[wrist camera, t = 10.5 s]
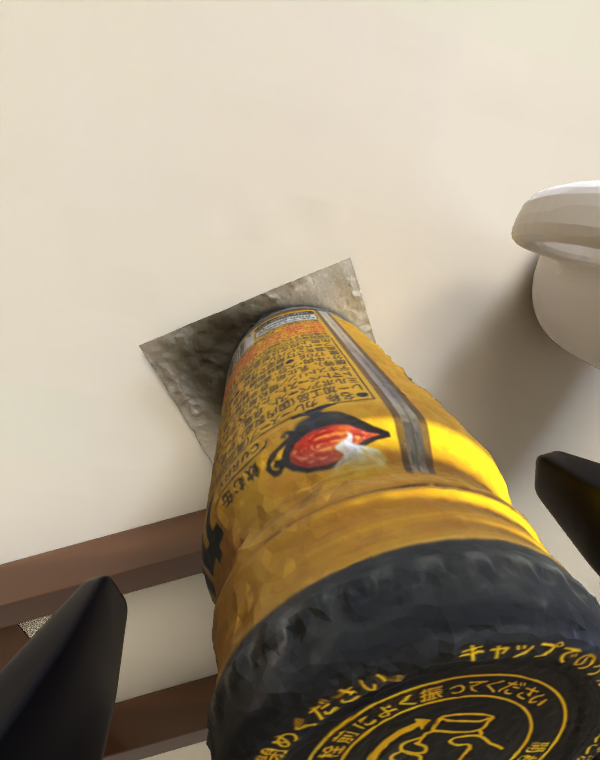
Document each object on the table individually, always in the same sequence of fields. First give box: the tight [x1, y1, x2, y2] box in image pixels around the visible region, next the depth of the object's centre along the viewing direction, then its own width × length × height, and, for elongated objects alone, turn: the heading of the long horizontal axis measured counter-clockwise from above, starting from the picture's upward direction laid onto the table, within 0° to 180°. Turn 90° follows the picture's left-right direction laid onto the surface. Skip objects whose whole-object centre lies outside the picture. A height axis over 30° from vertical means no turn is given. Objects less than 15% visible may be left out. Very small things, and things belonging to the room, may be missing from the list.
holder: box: [0, 509, 218, 760], centre depth 18 cm, size 13×14×2 cm
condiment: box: [139, 258, 600, 760], centre depth 10 cm, size 7×8×12 cm
